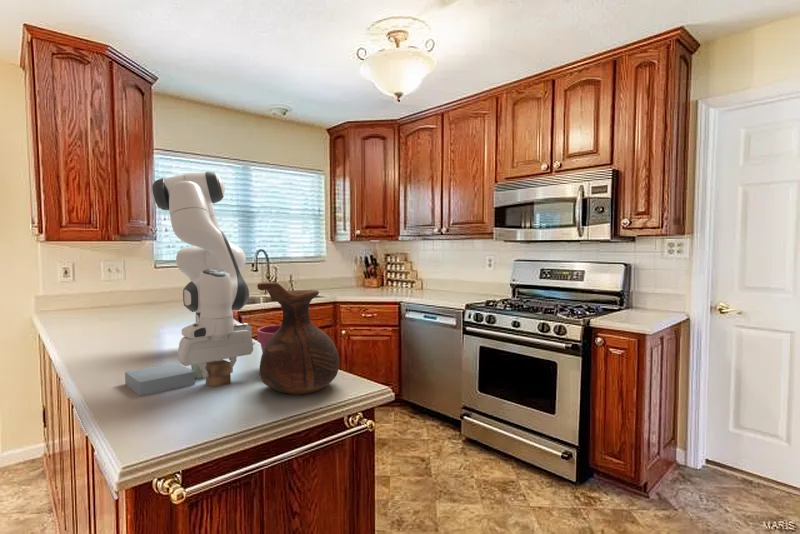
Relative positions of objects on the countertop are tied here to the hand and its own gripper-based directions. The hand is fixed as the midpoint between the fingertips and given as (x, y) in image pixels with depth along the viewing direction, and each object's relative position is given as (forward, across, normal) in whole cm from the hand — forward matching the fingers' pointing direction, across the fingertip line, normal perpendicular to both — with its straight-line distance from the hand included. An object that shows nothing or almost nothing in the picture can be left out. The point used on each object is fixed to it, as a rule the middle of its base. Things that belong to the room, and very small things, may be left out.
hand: (218, 375), depth 130 cm
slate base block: (+3, +12, -11) cm, 17 cm away
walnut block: (+2, 0, 0) cm, 2 cm away
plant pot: (+3, -21, -2) cm, 21 cm away
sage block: (+2, 0, -11) cm, 11 cm away
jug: (+3, -14, +20) cm, 25 cm away
